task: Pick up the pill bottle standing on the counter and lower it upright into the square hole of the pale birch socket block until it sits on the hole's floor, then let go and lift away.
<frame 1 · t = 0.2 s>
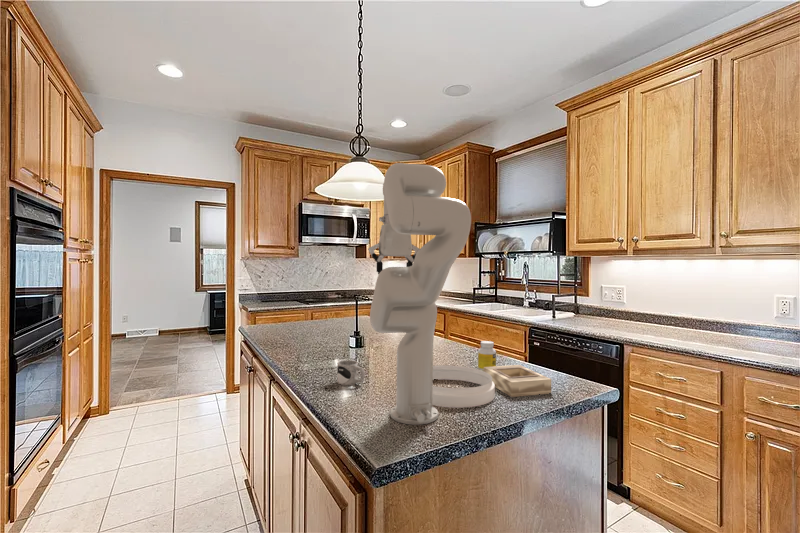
hand: (394, 274, 126), 37 cm above the counter, tool pointing down, fingers open, 9 cm apart
pill bottle: (486, 374, 144), on the counter
white open ring: (450, 393, 123), on the counter
mug: (351, 384, 130), on the counter
socket block: (515, 386, 129), on the counter
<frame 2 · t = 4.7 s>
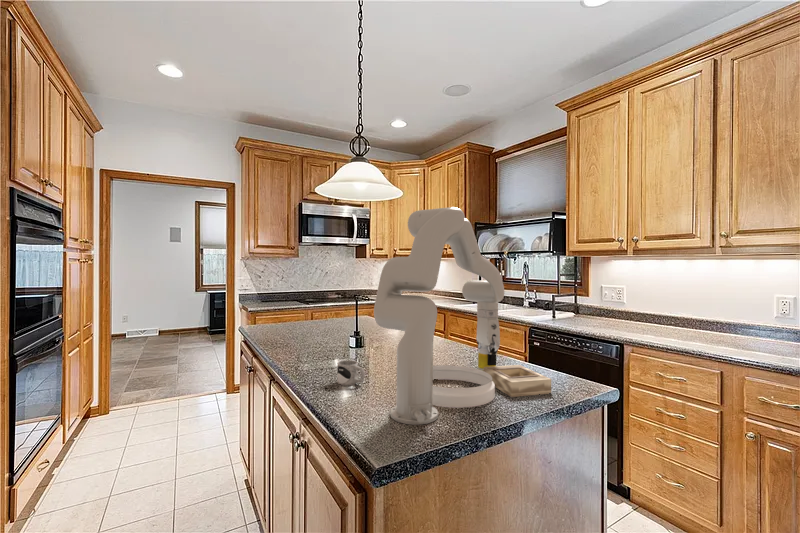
hand: (487, 362, 144), 4 cm above the counter, tool pointing down, fingers closed on pill bottle, 6 cm apart
pill bottle: (486, 374, 144), on the counter, touching gripper
everything else where it was.
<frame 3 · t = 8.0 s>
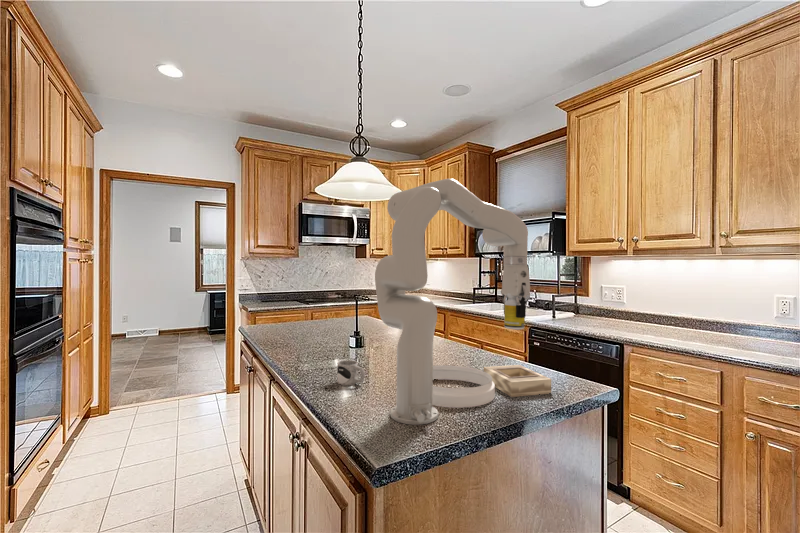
hand: (514, 315, 129), 23 cm above the counter, tool pointing down, fingers closed on pill bottle, 6 cm apart
pill bottle: (514, 329, 129), point 19 cm above the counter, touching gripper
everything else where it was.
when the fingers open (6 cm above the counter, at t = 11.7 s): pill bottle stays where it is, resting on socket block.
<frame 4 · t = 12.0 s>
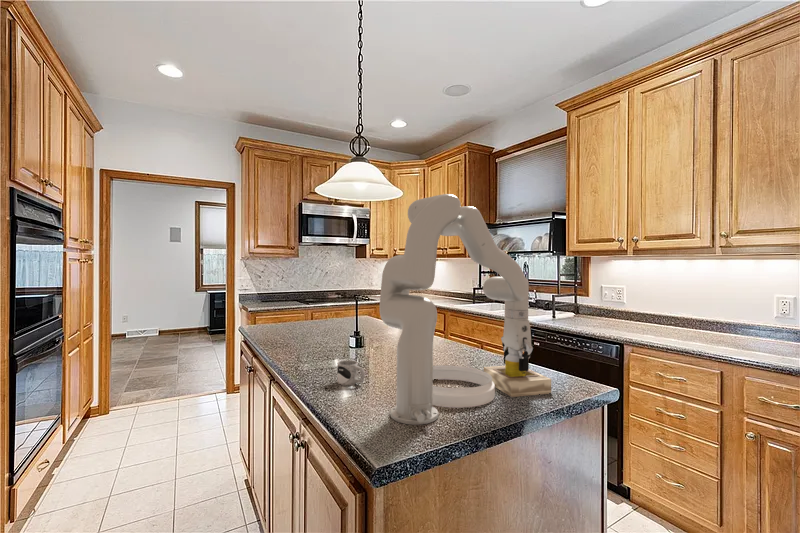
hand: (515, 366, 129), 6 cm above the counter, tool pointing down, fingers open, 8 cm apart
pill bottle: (515, 383, 129), point 1 cm above the counter, touching socket block
everything else where it was.
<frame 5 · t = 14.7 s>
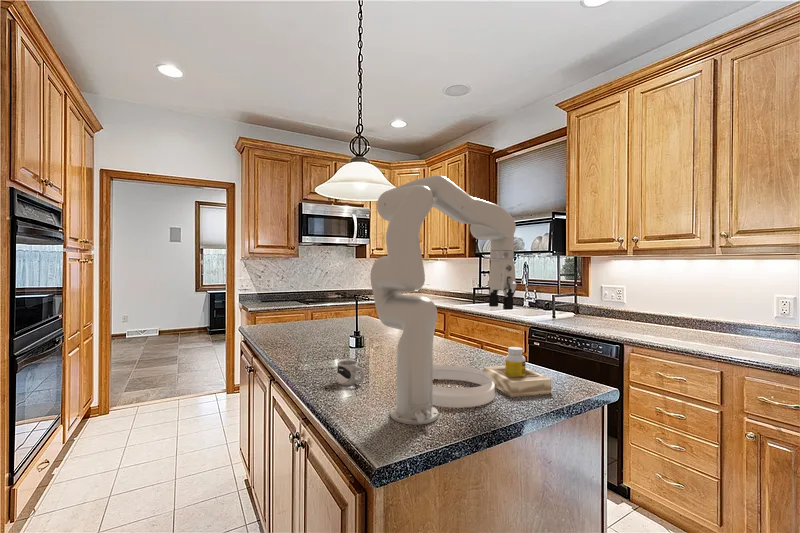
hand: (500, 307, 130), 26 cm above the counter, tool pointing down, fingers open, 9 cm apart
nothing on the counter moved.
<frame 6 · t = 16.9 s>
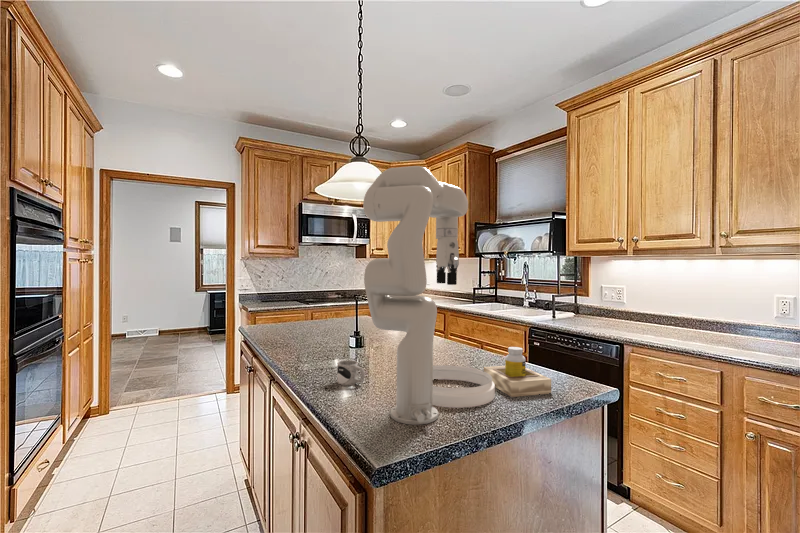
hand: (446, 283, 135), 33 cm above the counter, tool pointing down, fingers open, 9 cm apart
nothing on the counter moved.
at the end: pill bottle 0.1 cm off-centre on the socket block, point 0.8 cm above the socket block's base; pill bottle tilted 0°; the gripper is holding nothing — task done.
